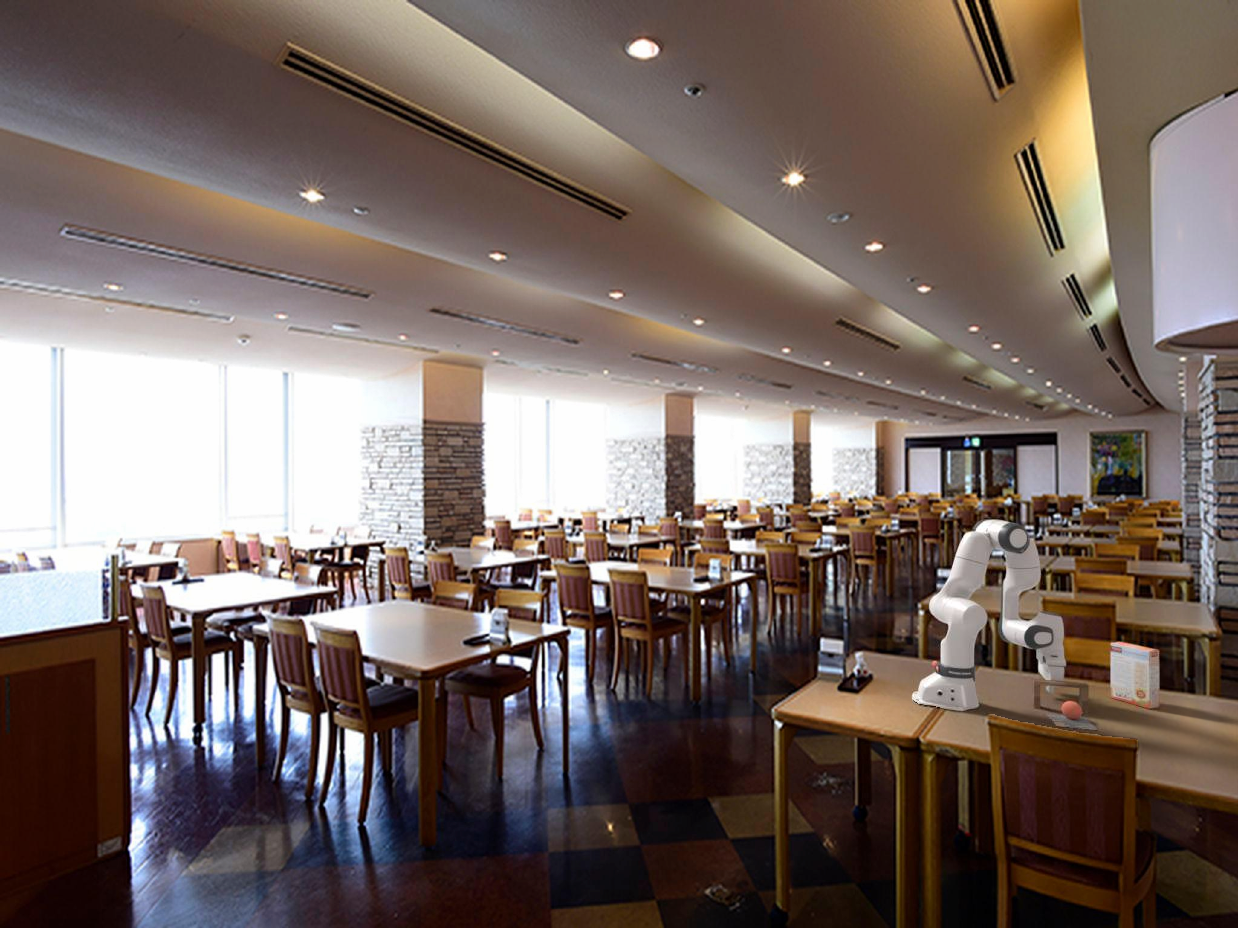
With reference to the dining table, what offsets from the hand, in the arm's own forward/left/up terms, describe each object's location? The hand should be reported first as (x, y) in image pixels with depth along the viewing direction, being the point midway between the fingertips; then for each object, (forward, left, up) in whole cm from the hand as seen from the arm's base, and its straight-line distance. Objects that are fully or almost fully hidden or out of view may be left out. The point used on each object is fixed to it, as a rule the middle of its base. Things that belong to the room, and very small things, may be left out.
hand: (1050, 691), depth 268 cm
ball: (+1, -23, +1) cm, 23 cm away
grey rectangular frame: (0, -13, -2) cm, 13 cm away
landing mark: (0, -27, -2) cm, 27 cm away
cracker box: (+28, +3, -2) cm, 28 cm away
